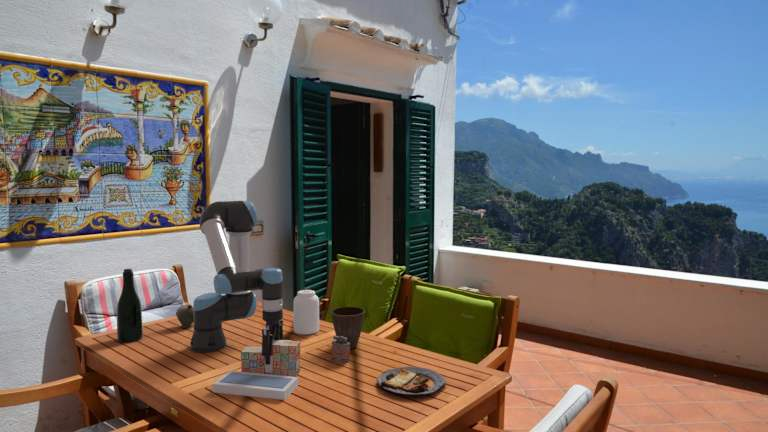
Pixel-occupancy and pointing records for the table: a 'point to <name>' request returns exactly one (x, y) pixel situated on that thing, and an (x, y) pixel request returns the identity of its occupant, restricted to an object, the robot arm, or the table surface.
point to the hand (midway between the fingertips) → (273, 368)
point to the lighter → (340, 349)
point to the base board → (256, 385)
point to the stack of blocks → (283, 359)
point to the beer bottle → (129, 311)
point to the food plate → (410, 380)
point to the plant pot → (348, 323)
